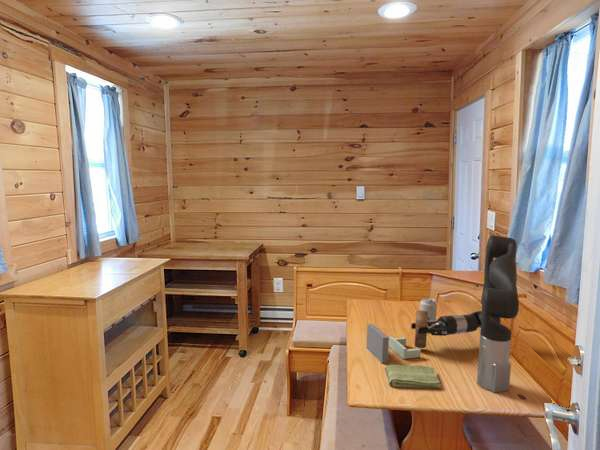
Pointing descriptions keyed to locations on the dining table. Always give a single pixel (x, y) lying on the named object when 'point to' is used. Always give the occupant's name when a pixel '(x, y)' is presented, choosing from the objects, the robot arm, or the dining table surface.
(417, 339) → the dowel
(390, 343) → the bracket
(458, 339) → the dining table surface
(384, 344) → the wall
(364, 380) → the dining table surface
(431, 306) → the can
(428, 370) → the washcloth
